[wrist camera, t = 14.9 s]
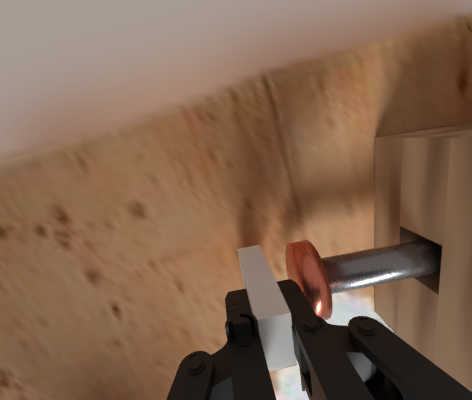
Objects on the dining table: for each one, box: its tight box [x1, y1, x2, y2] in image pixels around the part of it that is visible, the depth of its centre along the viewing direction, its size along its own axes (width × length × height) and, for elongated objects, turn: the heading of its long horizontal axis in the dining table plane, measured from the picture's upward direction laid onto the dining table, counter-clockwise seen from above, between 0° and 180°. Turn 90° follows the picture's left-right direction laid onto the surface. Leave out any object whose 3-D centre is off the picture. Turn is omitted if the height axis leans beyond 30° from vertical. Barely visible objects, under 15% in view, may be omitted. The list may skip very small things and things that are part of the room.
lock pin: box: [285, 239, 442, 320], centre depth 15 cm, size 14×4×4 cm, turn 98°
